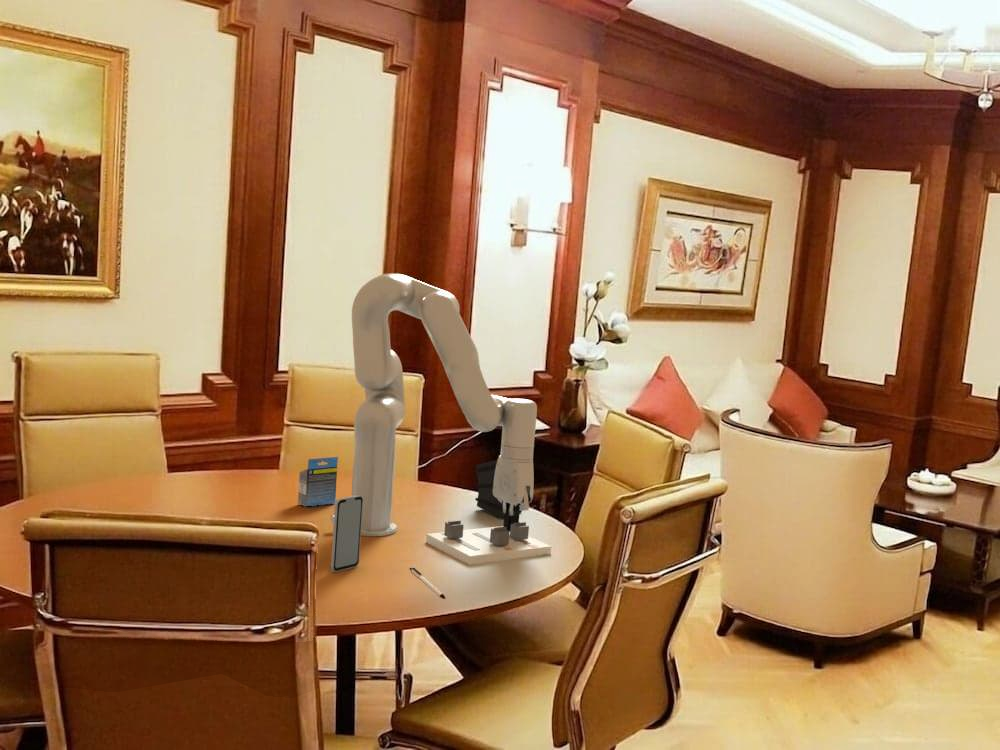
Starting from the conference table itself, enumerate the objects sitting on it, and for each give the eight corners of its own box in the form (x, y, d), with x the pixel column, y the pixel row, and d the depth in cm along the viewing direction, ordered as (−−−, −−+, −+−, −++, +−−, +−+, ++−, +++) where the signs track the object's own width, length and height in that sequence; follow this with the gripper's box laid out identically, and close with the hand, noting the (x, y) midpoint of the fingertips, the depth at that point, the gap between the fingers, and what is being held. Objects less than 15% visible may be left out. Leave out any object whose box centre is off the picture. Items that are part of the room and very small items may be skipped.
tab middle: (497, 545, 225) (498, 529, 225) (489, 542, 228) (491, 526, 227) (508, 544, 227) (509, 528, 227) (500, 540, 229) (502, 525, 229)
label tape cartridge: (327, 500, 263) (330, 453, 261) (335, 504, 260) (338, 456, 258) (297, 504, 257) (300, 456, 255) (305, 507, 254) (308, 459, 253)
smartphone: (332, 572, 205) (337, 500, 203) (329, 571, 205) (333, 499, 204) (358, 566, 211) (363, 495, 209) (355, 564, 211) (360, 494, 210)
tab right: (517, 540, 231) (518, 524, 231) (509, 536, 234) (510, 521, 233) (527, 539, 233) (529, 523, 232) (520, 535, 235) (521, 520, 235)
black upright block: (508, 518, 254) (500, 458, 257) (477, 523, 264) (470, 466, 267) (520, 517, 257) (512, 458, 259) (489, 522, 267) (481, 465, 269)
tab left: (451, 538, 228) (452, 523, 227) (444, 535, 230) (445, 519, 230) (462, 537, 230) (463, 522, 229) (455, 534, 232) (456, 518, 232)
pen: (412, 570, 212) (412, 565, 212) (447, 601, 195) (447, 595, 194) (408, 570, 211) (408, 565, 211) (442, 601, 194) (443, 595, 194)
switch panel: (469, 565, 217) (470, 555, 217) (426, 542, 232) (426, 533, 232) (550, 554, 230) (551, 545, 230) (504, 533, 245) (505, 525, 244)
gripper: (485, 447, 238) (479, 523, 240) (523, 460, 226) (516, 540, 228) (511, 445, 242) (504, 521, 244) (549, 458, 230) (543, 537, 232)
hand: (510, 530), depth 236 cm, fingers closed
